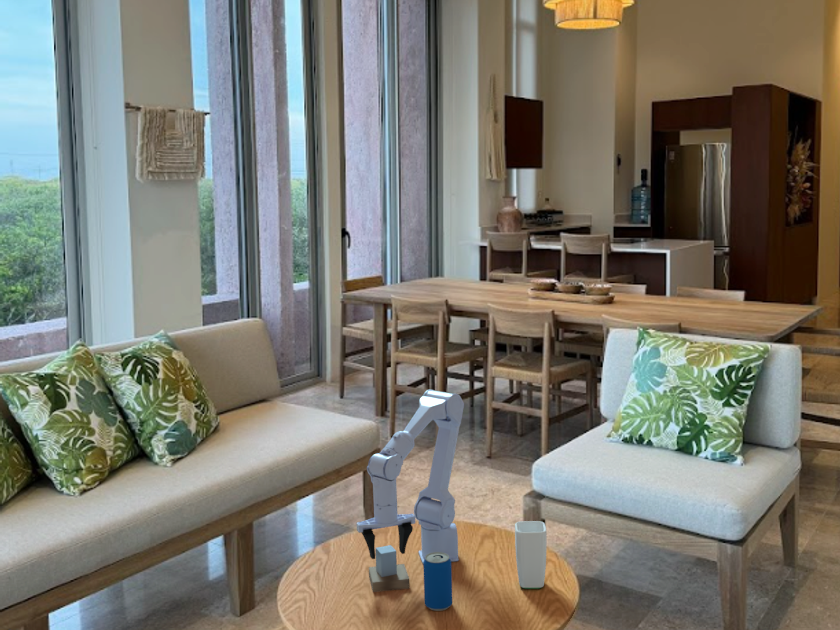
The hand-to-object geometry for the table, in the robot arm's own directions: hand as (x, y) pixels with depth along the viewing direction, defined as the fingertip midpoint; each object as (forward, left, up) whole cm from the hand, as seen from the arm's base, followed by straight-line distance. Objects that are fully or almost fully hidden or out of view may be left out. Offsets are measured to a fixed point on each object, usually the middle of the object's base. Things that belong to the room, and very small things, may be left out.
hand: (387, 554), depth 222 cm
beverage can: (-10, +15, -7) cm, 19 cm away
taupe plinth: (0, 0, -8) cm, 8 cm away
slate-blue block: (0, 0, -5) cm, 5 cm away
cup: (-34, +9, -7) cm, 36 cm away
